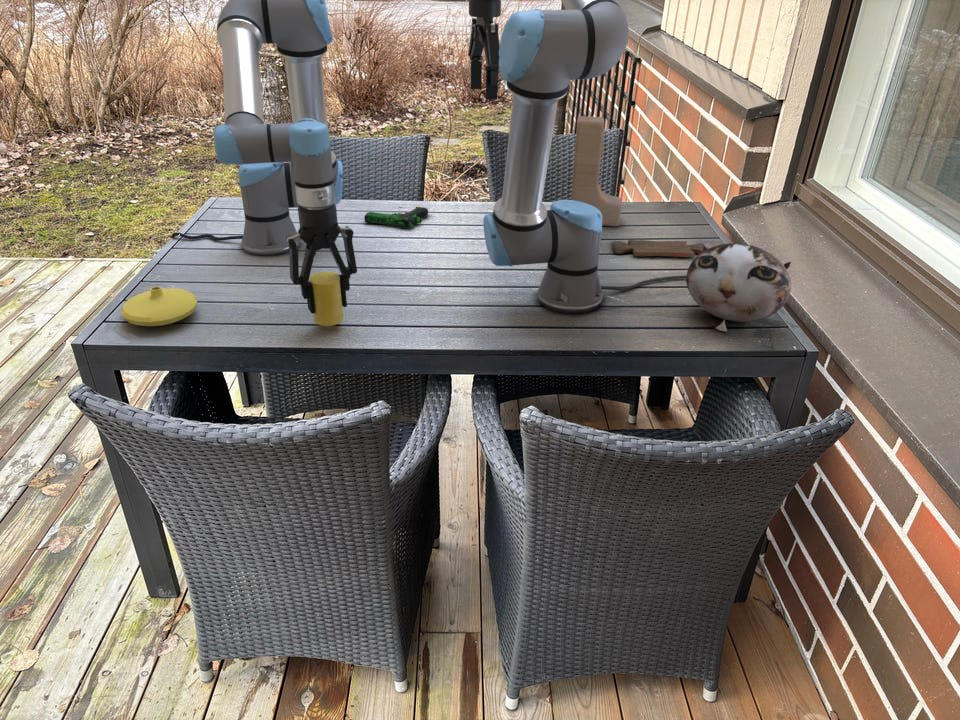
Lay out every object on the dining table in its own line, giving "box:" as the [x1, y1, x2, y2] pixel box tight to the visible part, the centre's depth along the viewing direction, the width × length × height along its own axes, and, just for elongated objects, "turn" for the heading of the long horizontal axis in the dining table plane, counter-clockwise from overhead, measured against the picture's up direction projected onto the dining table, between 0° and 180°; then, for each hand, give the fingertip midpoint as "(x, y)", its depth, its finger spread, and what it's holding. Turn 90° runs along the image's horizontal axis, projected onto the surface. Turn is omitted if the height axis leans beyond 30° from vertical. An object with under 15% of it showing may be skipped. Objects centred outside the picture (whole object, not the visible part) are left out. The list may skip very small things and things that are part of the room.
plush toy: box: [685, 242, 792, 332], centre depth 158 cm, size 22×18×20 cm
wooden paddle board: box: [611, 239, 706, 258], centre depth 197 cm, size 26×2×10 cm
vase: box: [120, 286, 198, 327], centre depth 157 cm, size 16×16×7 cm
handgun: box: [363, 206, 429, 230], centre depth 215 cm, size 16×3×15 cm
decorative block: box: [570, 115, 623, 227], centre depth 209 cm, size 8×15×30 cm, turn 82°
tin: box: [309, 271, 345, 327], centre depth 153 cm, size 6×6×10 cm
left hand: (327, 307), depth 154 cm, fingers closed on tin, 6 cm apart
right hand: (483, 94), depth 176 cm, fingers open, 13 cm apart
